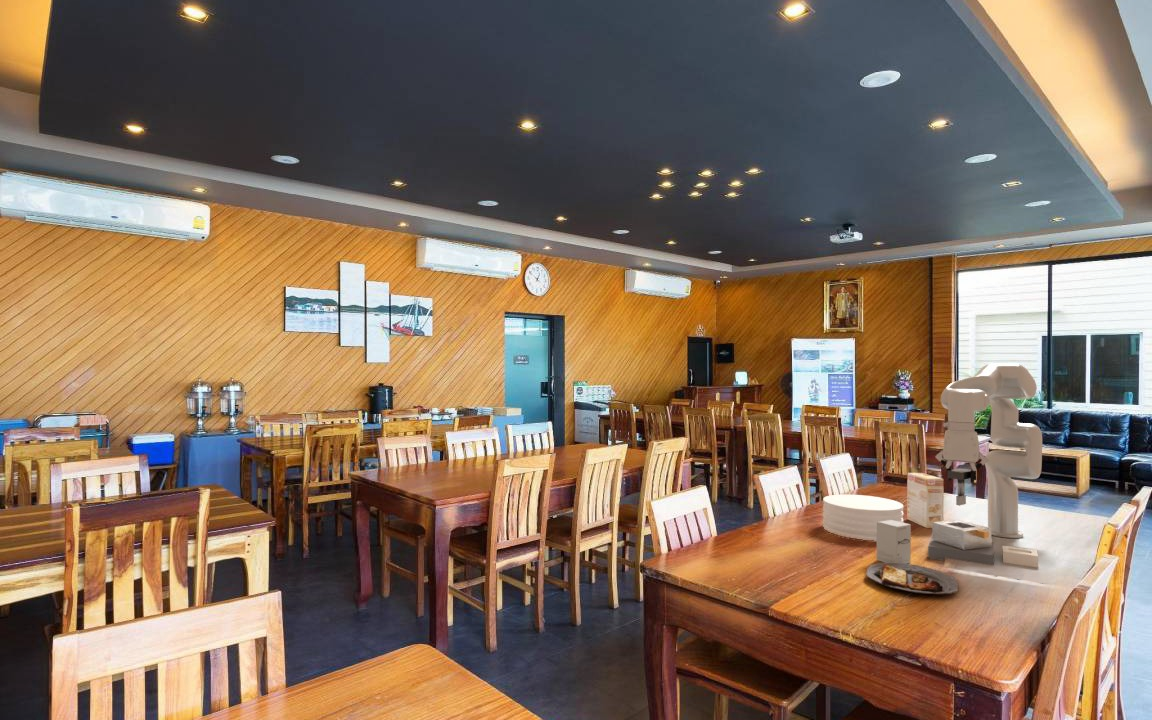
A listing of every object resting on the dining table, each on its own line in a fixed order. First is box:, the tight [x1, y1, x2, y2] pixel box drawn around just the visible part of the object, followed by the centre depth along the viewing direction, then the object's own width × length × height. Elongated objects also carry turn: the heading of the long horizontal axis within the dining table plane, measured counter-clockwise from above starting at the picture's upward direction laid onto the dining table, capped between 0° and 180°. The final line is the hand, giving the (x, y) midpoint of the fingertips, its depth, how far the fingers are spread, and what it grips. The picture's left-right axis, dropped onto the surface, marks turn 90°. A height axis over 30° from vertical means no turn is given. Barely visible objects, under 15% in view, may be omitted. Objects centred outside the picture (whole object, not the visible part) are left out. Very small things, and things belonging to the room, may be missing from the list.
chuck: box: [931, 519, 992, 550], centre depth 207 cm, size 15×12×6 cm
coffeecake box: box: [906, 472, 945, 529], centre depth 252 cm, size 15×7×20 cm, turn 179°
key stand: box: [1002, 545, 1039, 568], centre depth 200 cm, size 8×9×4 cm
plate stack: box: [822, 494, 904, 542], centre depth 240 cm, size 28×28×12 cm
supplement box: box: [876, 520, 912, 564], centre depth 202 cm, size 7×7×13 cm
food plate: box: [865, 562, 959, 596], centre depth 181 cm, size 25×23×4 cm
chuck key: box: [946, 468, 971, 506], centre depth 209 cm, size 5×9×11 cm, turn 124°
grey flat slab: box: [927, 536, 995, 566], centre depth 209 cm, size 18×18×4 cm
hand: (961, 480), depth 209 cm, fingers closed on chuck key, 5 cm apart
